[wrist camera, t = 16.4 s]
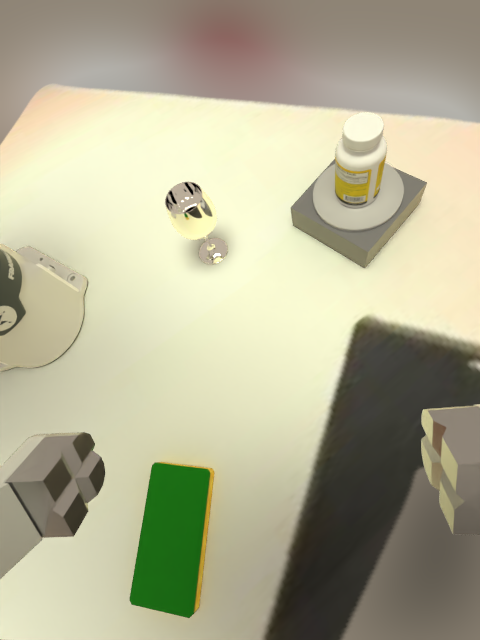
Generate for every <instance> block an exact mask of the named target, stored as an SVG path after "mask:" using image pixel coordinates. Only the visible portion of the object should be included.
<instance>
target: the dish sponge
mask: <svg viewBox="0 0 480 640" xmlns="http://www.w3.org/2000/svg"><path fill="white" fill-rule="evenodd" d="M213 479H214V471H213V469H212V468H204V467H196V466H188V465H180V464H172V463H163V462H159V463H154V464H153V465H152V469H151V475H150V481H149V487H148V493H147V499H146V505H145V511H144V517H143V523H142V529H141V535H140V540H139V546H138V552H137V558H136V564H135V570H134V576H133V582H132V588H131V594H130V602H131V604H132V605H136V606H141V607H145V608H149V609H153V610H158V611H162V612H166V613H170V614H174V615H179V616H183V617H187V618H190V617H191V616H192V615H193V614H194V612H195V611H196V610H197V609H198V608H199V602H200V594H201V585H202V576H203V567H204V558H205V550H206V541H207V532H208V523H209V514H210V506H211V497H212V488H213Z"/></svg>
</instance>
